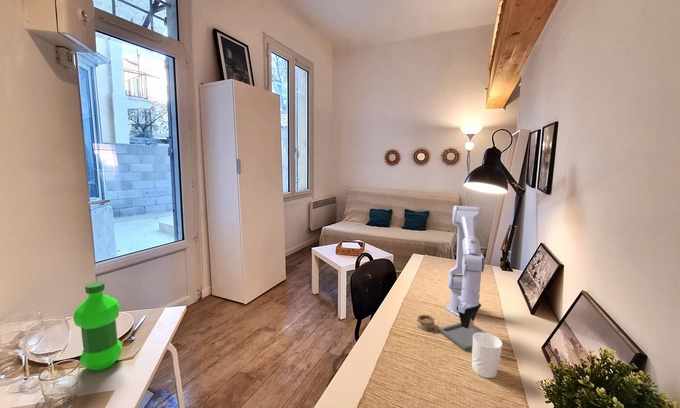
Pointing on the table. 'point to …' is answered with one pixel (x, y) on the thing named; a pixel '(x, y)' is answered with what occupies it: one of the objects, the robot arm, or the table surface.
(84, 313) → the plastic bottle
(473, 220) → the robot arm
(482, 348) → the white cup
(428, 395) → the table surface
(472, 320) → the ball
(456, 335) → the tray
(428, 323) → the egg cup
